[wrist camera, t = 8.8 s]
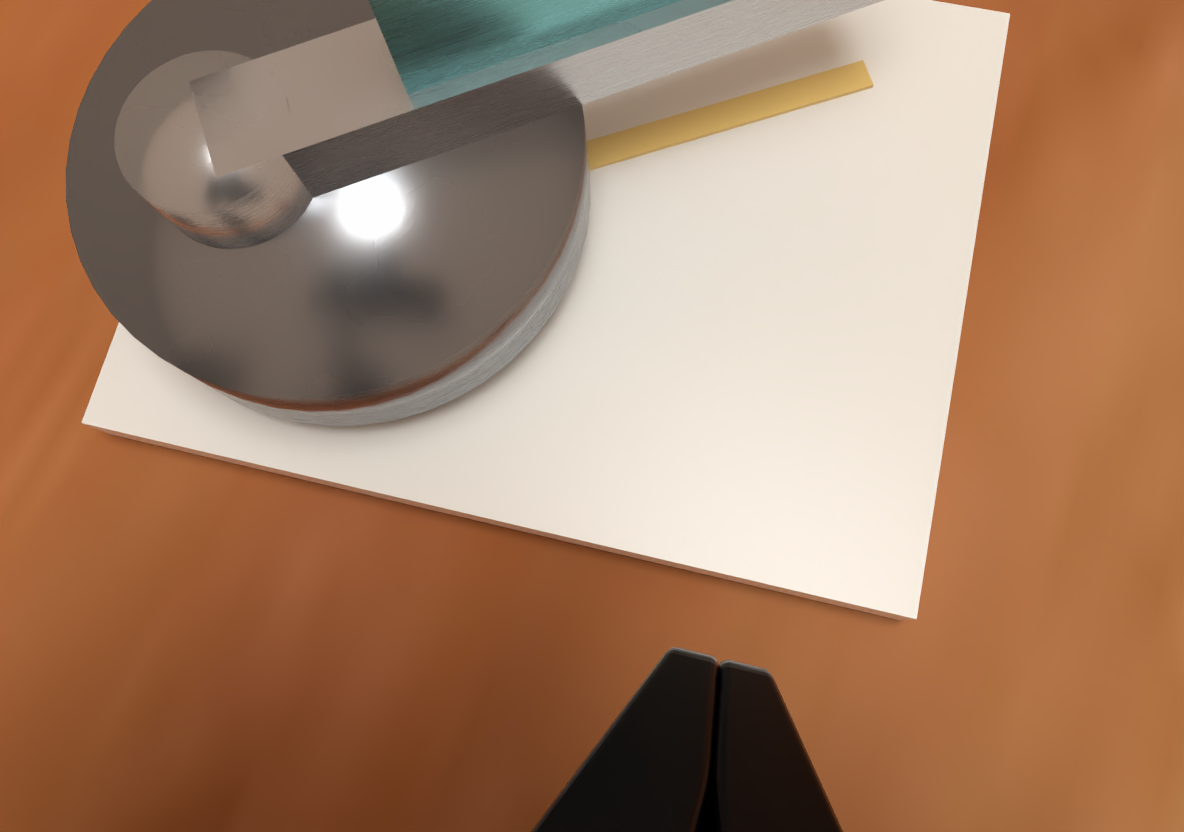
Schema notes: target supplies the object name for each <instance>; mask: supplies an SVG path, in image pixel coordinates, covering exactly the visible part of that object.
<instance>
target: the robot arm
mask: <svg viewBox="0 0 1184 832" xmlns="http://www.w3.org/2000/svg"><path fill="white" fill-rule="evenodd" d="M531 832H843V831H842V829H841V826H840V824H839V822H838V820H837V818H836V815H835V813H834V811H833V809H832V806H831V804H830V802H829V800H828V798H827V795H826V793H825V791H824V789H823V787H822V784H821V782H820V780H819V778H818V775H817V773H816V771H815V769H814V767H813V764H812V762H811V760H810V758H809V756H808V753H807V751H806V749H805V747H804V745H803V742H802V740H801V738H800V736H799V733H798V731H797V729H796V727H795V725H794V722H793V720H792V718H791V716H790V714H789V711H788V709H787V707H786V705H785V703H784V700H783V698H782V696H781V694H780V691H779V689H778V687H777V685H776V683H775V681H774V678H773V677H772V675H771V674H770V673H769V672H768V671H767V670H766V669H763V668H760V667H755V666H751V665H747V664H743V663H739V662H735V661H731V660H725V661H722V662H721V663H720V664H719V665H718V662H717V660H716V659H715V658H714V657H713V656H711V655H707V654H702V653H698V652H694V651H690V650H686V649H682V648H677V647H674V648H671V649H669V650H668V651H667V652H666V653H665V654H664V656H663V657H662V658H661V660H660V661H659V662H658V664H657V665H656V666H655V668H654V669H653V670H652V672H651V673H650V674H649V676H648V677H647V678H646V679H645V681H644V682H643V683H642V685H641V686H640V687H639V689H638V690H637V691H636V693H635V694H634V695H633V697H632V698H631V699H630V701H629V702H628V703H627V705H626V706H625V707H624V709H623V710H622V711H621V713H620V714H619V715H618V717H617V718H616V719H615V721H614V722H613V723H612V725H611V726H610V727H609V729H608V730H607V731H606V733H605V734H604V735H603V737H602V738H601V739H600V740H599V742H598V743H597V744H596V746H595V747H594V748H593V750H592V751H591V752H590V754H589V755H588V756H587V758H586V759H585V760H584V762H583V763H582V764H581V766H580V767H579V768H578V770H577V771H576V772H575V774H574V775H573V776H572V778H571V779H570V780H569V782H568V783H567V784H566V786H565V787H564V788H563V790H562V791H561V792H560V794H559V795H558V796H557V798H556V799H555V800H554V802H553V803H552V804H551V805H550V807H549V808H548V809H547V811H546V812H545V813H544V815H543V816H542V817H541V819H540V820H539V821H538V823H537V824H536V825H535V827H534V828H533V829H532V831H531Z"/></svg>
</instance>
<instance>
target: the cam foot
mask: <svg viewBox="0 0 1184 832" xmlns="http://www.w3.org/2000/svg"><path fill="white" fill-rule="evenodd" d="M881 1H884V0H152V1H151V2H149V3H148V4H147V5H146V6H145V7H144V8H143V9H142V10H141V11H140V13H139V14H138V15H137V16H136V17H135V18H134V19H133V20H132V21H131V22H130V23H129V24H128V25H127V26H126V27H125V29H124V30H123V31H122V33H121V34H120V35H119V37H118V38H117V39H116V41H115V42H114V43H113V45H112V46H111V47H110V49H109V50H108V51H107V53H106V54H105V56H104V58H103V60H102V61H101V63H100V65H99V66H98V68H97V70H96V72H95V73H94V75H93V77H92V79H91V80H90V83H89V85H88V88H87V90H86V92H85V95H84V97H83V99H82V102H81V104H80V107H79V109H78V112H77V116H76V120H75V123H74V127H73V131H72V134H71V138H70V144H69V151H68V159H67V166H66V202H67V209H68V215H69V222H70V228H71V233H72V236H73V239H74V242H75V245H76V249H77V252H78V255H79V258H80V261H81V263H82V265H83V267H84V269H85V271H86V273H87V275H88V277H89V279H90V281H91V284H92V286H93V288H94V289H95V291H96V292H97V294H98V295H99V296H100V298H101V299H102V301H103V302H104V304H105V305H106V306H107V308H108V309H109V311H110V312H111V314H112V315H113V316H114V317H115V318H116V319H117V320H118V321H119V322H120V323H121V324H122V325H123V326H124V327H125V329H126V330H127V331H128V332H129V333H130V334H131V335H132V336H133V337H134V338H135V339H137V340H138V341H139V342H141V343H142V344H143V345H144V346H146V347H147V348H148V349H150V350H151V351H152V352H153V353H155V354H156V355H157V356H159V357H160V358H162V359H163V360H165V361H167V362H168V363H170V364H172V365H173V366H175V367H177V368H178V369H180V370H182V371H183V372H185V373H187V374H188V375H190V376H192V377H193V378H195V379H197V380H199V381H200V382H202V383H204V384H205V385H207V386H209V387H210V388H212V389H214V390H215V391H217V392H219V393H221V394H222V395H224V396H226V397H228V398H229V399H231V400H233V401H235V402H237V403H238V404H240V405H243V406H245V407H248V408H250V409H253V410H255V411H258V412H260V413H263V414H266V415H268V416H272V417H276V418H280V419H284V420H288V421H293V422H297V423H303V424H313V425H323V426H360V425H369V424H375V423H381V422H388V421H394V420H398V419H401V418H405V417H408V416H412V415H415V414H419V413H422V412H426V411H428V410H431V409H433V408H435V407H438V406H440V405H442V404H445V403H447V402H449V401H452V400H454V399H456V398H458V397H460V396H461V395H463V394H465V393H466V392H468V391H470V390H472V389H473V388H475V387H477V386H478V385H480V384H482V383H484V382H485V381H486V380H488V379H489V378H490V377H492V376H493V375H494V374H496V373H497V372H498V371H499V370H501V369H502V368H503V367H505V366H506V365H507V364H509V363H510V362H511V361H512V360H513V359H514V358H515V357H516V356H517V355H518V354H519V353H520V352H521V351H522V350H523V349H524V348H525V347H526V346H527V345H528V344H529V343H530V342H531V341H532V340H533V339H534V338H535V336H536V335H537V334H538V333H539V331H540V330H541V329H542V327H543V326H544V325H545V324H546V322H547V321H548V320H549V319H550V317H551V316H552V314H553V313H554V311H555V309H556V308H557V306H558V304H559V303H560V301H561V299H562V298H563V296H564V294H565V293H566V291H567V289H568V287H569V284H570V282H571V280H572V277H573V275H574V273H575V270H576V268H577V266H578V263H579V261H580V257H581V253H582V250H583V246H584V242H585V238H586V235H587V229H588V221H589V213H590V205H591V200H590V170H589V160H588V150H587V140H586V130H585V120H584V114H583V107H582V105H583V104H586V103H588V102H591V101H594V100H597V99H600V98H603V97H606V96H609V95H612V94H615V93H617V92H620V91H623V90H626V89H629V88H632V87H635V86H638V85H641V84H643V83H646V82H649V81H652V80H655V79H658V78H661V77H664V76H667V75H670V74H672V73H675V72H678V71H681V70H684V69H687V68H690V67H693V66H696V65H698V64H701V63H704V62H707V61H710V60H713V59H716V58H719V57H722V56H725V55H727V54H730V53H733V52H736V51H739V50H742V49H745V48H748V47H751V46H753V45H756V44H759V43H762V42H765V41H768V40H771V39H774V38H777V37H779V36H782V35H785V34H788V33H791V32H794V31H797V30H800V29H803V28H806V27H808V26H811V25H814V24H817V23H820V22H823V21H826V20H829V19H832V18H834V17H837V16H840V15H843V14H846V13H849V12H852V11H855V10H858V9H861V8H863V7H866V6H869V5H872V4H875V3H878V2H881Z"/></svg>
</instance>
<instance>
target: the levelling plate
mask: <svg viewBox="0 0 1184 832" xmlns="http://www.w3.org/2000/svg"><path fill="white" fill-rule="evenodd" d="M1009 17H1010V14H1009V13H1003V12H997V11H991V10H985V9H979V8H974V7H968V6H962V5H956V4H950V3H944V2H938V1H932V0H884V1H881V2H878V3H875V4H872V5H869V6H866V7H863V8H861V9H858V10H855V11H852V12H849V13H846V14H843V15H840V16H837V17H834V18H832V19H829V20H826V21H823V22H820V23H817V24H814V25H811V26H808V27H806V28H803V29H800V30H797V31H794V32H791V33H788V34H785V35H782V36H779V37H777V38H774V39H771V40H768V41H765V42H762V43H759V44H756V45H753V46H751V47H748V48H745V49H742V50H739V51H736V52H733V53H730V54H727V55H725V56H722V57H719V58H716V59H713V60H710V61H707V62H704V63H701V64H698V65H696V66H693V67H690V68H687V69H684V70H681V71H678V72H675V73H672V74H670V75H667V76H664V77H661V78H658V79H655V80H652V81H649V82H646V83H643V84H641V85H638V86H635V87H632V88H629V89H626V90H623V91H620V92H617V93H615V94H612V95H609V96H606V97H603V98H600V99H597V100H594V101H591V102H588V103H586V104H583V105H582V107H583V114H584V120H585V130H586V140H587V150H588V160H589V170H590V200H591V205H590V213H589V221H588V229H587V235H586V238H585V242H584V246H583V250H582V253H581V257H580V261H579V263H578V266H577V268H576V270H575V273H574V275H573V277H572V280H571V282H570V284H569V287H568V289H567V291H566V293H565V294H564V296H563V298H562V299H561V301H560V303H559V304H558V306H557V308H556V309H555V311H554V313H553V314H552V316H551V317H550V319H549V320H548V321H547V322H546V324H545V325H544V326H543V327H542V329H541V330H540V331H539V333H538V334H537V335H536V336H535V338H534V339H533V340H532V341H531V342H530V343H529V344H528V345H527V346H526V347H525V348H524V349H523V350H522V351H521V352H520V353H519V354H518V355H517V356H516V357H515V358H514V359H513V360H512V361H511V362H510V363H509V364H507V365H506V366H505V367H503V368H502V369H501V370H499V371H498V372H497V373H496V374H494V375H493V376H492V377H490V378H489V379H488V380H486V381H485V382H484V383H482V384H480V385H478V386H477V387H475V388H473V389H472V390H470V391H468V392H466V393H465V394H463V395H461V396H460V397H458V398H456V399H454V400H452V401H449V402H447V403H445V404H442V405H440V406H438V407H435V408H433V409H431V410H428V411H426V412H422V413H419V414H415V415H412V416H408V417H405V418H401V419H398V420H394V421H388V422H381V423H375V424H369V425H360V426H323V425H313V424H303V423H297V422H293V421H288V420H284V419H280V418H276V417H272V416H268V415H266V414H263V413H260V412H258V411H255V410H253V409H250V408H248V407H245V406H243V405H240V404H238V403H237V402H235V401H233V400H231V399H229V398H228V397H226V396H224V395H222V394H221V393H219V392H217V391H215V390H214V389H212V388H210V387H209V386H207V385H205V384H204V383H202V382H200V381H199V380H197V379H195V378H193V377H192V376H190V375H188V374H187V373H185V372H183V371H182V370H180V369H178V368H177V367H175V366H173V365H172V364H170V363H168V362H167V361H165V360H163V359H162V358H160V357H159V356H157V355H156V354H155V353H153V352H152V351H151V350H150V349H148V348H147V347H146V346H144V345H143V344H142V343H141V342H139V341H138V340H137V339H135V338H134V337H133V336H132V335H131V334H130V333H129V332H128V331H127V330H126V329H125V327H124V326H123V325H122V324H121V323H120V322H119V324H118V327H117V329H116V332H115V335H114V337H113V340H112V343H111V345H110V348H109V351H108V353H107V356H106V359H105V361H104V364H103V367H102V369H101V372H100V375H99V377H98V380H97V383H96V386H95V388H94V391H93V394H92V396H91V399H90V402H89V404H88V407H87V410H86V412H85V415H84V418H83V420H82V423H83V424H85V425H88V426H90V427H93V428H95V429H98V430H101V431H103V432H106V433H108V434H111V435H115V436H119V437H124V438H128V439H132V440H136V441H141V442H145V443H149V444H153V445H158V446H162V447H166V448H170V449H175V450H179V451H183V452H187V453H192V454H196V455H200V456H204V457H209V458H213V459H217V460H221V461H226V462H230V463H234V464H238V465H243V466H247V467H251V468H255V469H260V470H264V471H268V472H272V473H277V474H281V475H285V476H289V477H294V478H298V479H302V480H306V481H311V482H315V483H319V484H323V485H328V486H332V487H336V488H340V489H345V490H349V491H353V492H357V493H361V494H366V495H370V496H374V497H378V498H383V499H387V500H391V501H395V502H400V503H404V504H408V505H412V506H417V507H421V508H425V509H429V510H434V511H438V512H442V513H446V514H451V515H455V516H459V517H463V518H468V519H472V520H476V521H480V522H485V523H489V524H493V525H497V526H502V527H506V528H510V529H514V530H519V531H523V532H527V533H531V534H536V535H540V536H544V537H548V538H553V539H557V540H561V541H565V542H570V543H574V544H578V545H582V546H587V547H591V548H595V549H599V550H604V551H608V552H612V553H616V554H621V555H625V556H629V557H633V558H637V559H642V560H646V561H650V562H654V563H659V564H663V565H667V566H671V567H676V568H680V569H684V570H688V571H693V572H697V573H701V574H705V575H710V576H714V577H718V578H722V579H727V580H731V581H735V582H739V583H744V584H748V585H752V586H756V587H761V588H765V589H769V590H773V591H778V592H782V593H786V594H790V595H795V596H799V597H803V598H807V599H812V600H816V601H820V602H824V603H829V604H833V605H837V606H841V607H846V608H850V609H854V610H858V611H863V612H867V613H871V614H875V615H880V616H884V617H888V618H892V619H897V620H913V619H917V613H918V606H919V600H920V594H921V587H922V581H923V574H924V568H925V561H926V555H927V548H928V542H929V535H930V529H931V522H932V516H933V509H934V503H935V496H936V490H937V483H938V477H939V470H940V464H941V458H942V451H943V445H944V438H945V432H946V425H947V419H948V412H949V406H950V399H951V393H952V386H953V380H954V373H955V367H956V360H957V354H958V347H959V341H960V335H961V328H962V322H963V315H964V309H965V302H966V296H967V289H968V283H969V276H970V270H971V263H972V257H973V250H974V244H975V237H976V231H977V224H978V218H979V211H980V205H981V199H982V192H983V186H984V179H985V173H986V166H987V160H988V153H989V147H990V140H991V134H992V127H993V121H994V114H995V108H996V101H997V95H998V88H999V82H1000V76H1001V69H1002V63H1003V56H1004V50H1005V43H1006V37H1007V30H1008V24H1009Z"/></svg>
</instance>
